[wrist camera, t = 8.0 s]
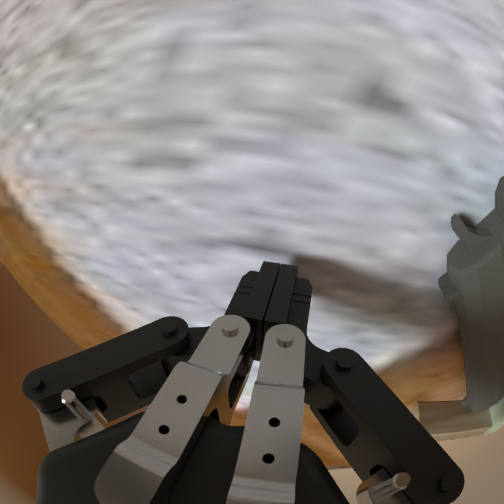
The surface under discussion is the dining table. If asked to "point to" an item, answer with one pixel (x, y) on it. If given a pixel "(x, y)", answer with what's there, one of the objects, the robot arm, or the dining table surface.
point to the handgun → (479, 302)
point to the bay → (457, 419)
